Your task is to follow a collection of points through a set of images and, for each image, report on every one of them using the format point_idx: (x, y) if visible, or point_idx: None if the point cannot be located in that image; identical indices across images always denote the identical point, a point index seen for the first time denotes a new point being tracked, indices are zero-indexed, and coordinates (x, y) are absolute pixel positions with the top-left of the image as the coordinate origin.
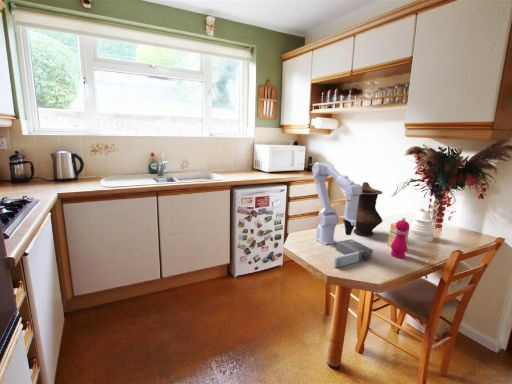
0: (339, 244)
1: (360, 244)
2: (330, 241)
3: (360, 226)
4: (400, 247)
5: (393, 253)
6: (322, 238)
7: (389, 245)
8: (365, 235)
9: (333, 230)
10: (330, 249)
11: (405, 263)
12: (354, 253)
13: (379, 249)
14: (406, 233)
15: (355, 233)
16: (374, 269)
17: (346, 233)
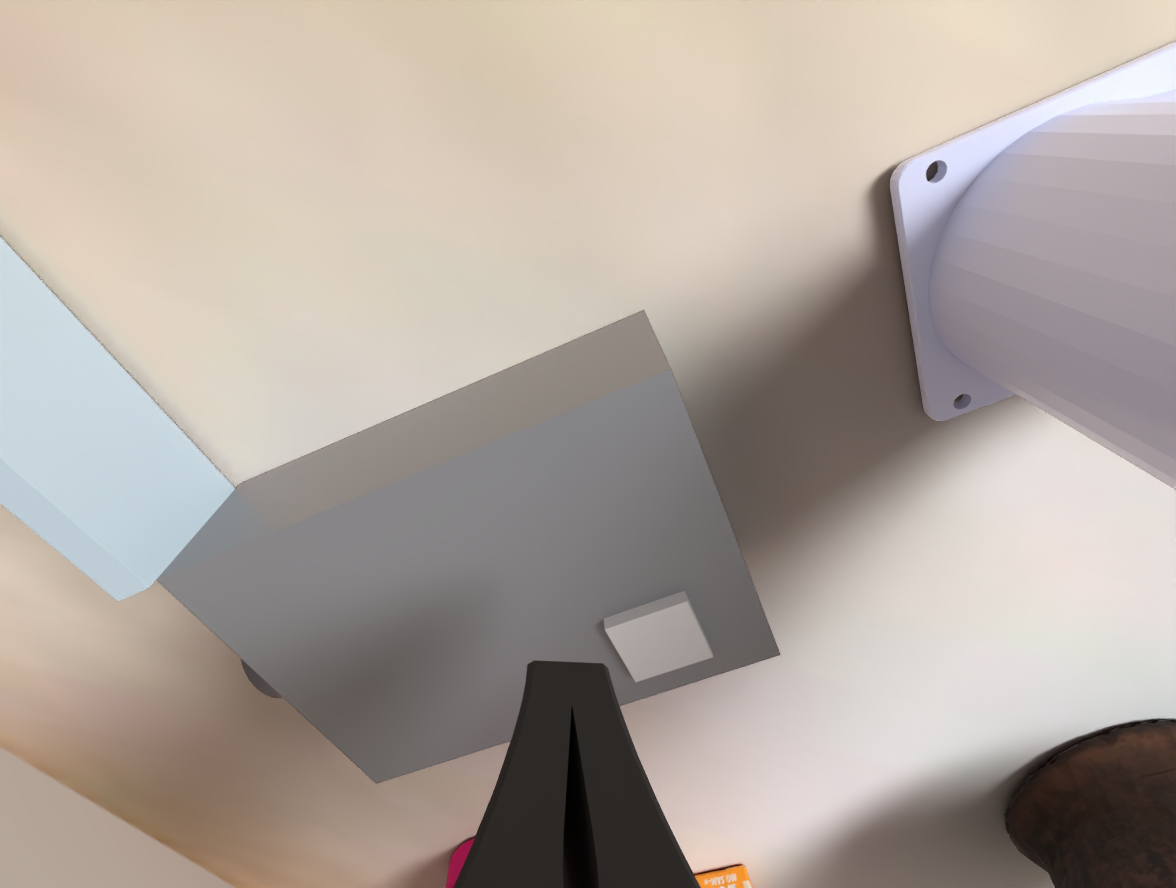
0: (587, 390)
1: None
2: (944, 300)
3: (1165, 880)
4: None
5: None
6: (1096, 126)
7: (722, 880)
8: (1024, 793)
9: (1150, 454)
10: (671, 208)
11: (348, 861)
12: (43, 520)
13: (656, 791)
14: None
15: (1136, 727)
16: (68, 609)
17: (523, 700)
